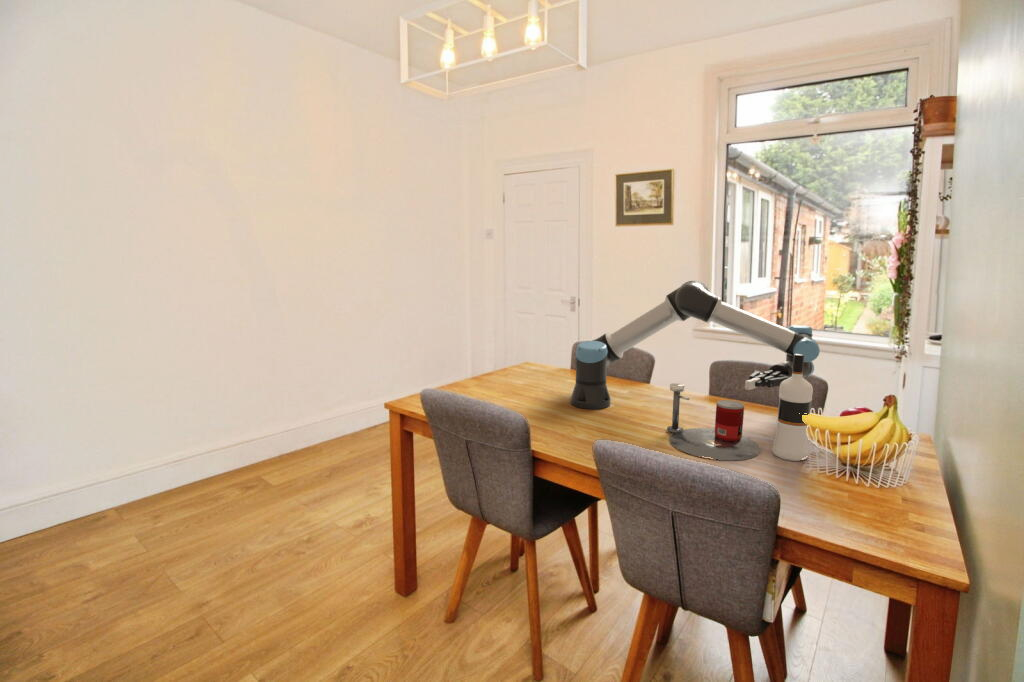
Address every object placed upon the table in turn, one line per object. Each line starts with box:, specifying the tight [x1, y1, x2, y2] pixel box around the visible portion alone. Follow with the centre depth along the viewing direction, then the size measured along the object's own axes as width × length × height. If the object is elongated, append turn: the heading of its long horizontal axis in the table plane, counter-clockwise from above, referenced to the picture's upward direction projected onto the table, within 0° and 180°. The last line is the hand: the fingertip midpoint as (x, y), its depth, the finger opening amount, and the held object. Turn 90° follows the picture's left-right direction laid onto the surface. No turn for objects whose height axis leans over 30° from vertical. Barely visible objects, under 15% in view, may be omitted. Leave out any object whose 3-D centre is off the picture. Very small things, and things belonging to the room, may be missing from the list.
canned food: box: [714, 399, 745, 441], centre depth 166 cm, size 8×8×11 cm
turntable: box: [669, 427, 761, 462], centre depth 163 cm, size 26×26×1 cm
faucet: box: [666, 382, 691, 434], centre depth 171 cm, size 7×5×16 cm
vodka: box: [771, 354, 814, 462], centre depth 150 cm, size 9×9×30 cm
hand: (747, 385), depth 169 cm, fingers closed
